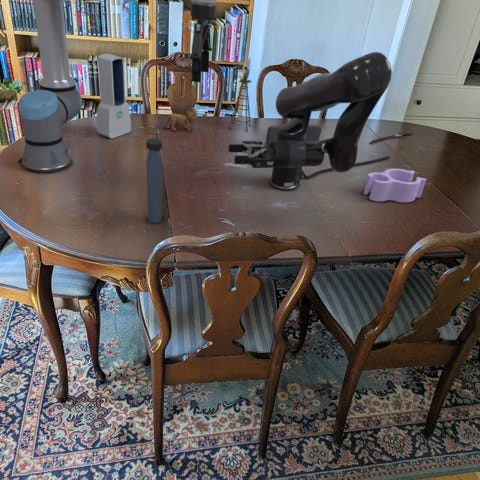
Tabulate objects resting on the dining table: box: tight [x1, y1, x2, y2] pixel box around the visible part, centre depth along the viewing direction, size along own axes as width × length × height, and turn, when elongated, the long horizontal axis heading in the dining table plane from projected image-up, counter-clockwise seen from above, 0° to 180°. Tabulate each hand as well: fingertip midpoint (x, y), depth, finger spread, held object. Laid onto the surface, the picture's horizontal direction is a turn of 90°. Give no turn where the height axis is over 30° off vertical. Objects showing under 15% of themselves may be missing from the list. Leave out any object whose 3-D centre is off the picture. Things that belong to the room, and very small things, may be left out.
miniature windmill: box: [228, 58, 252, 132], centre depth 200 cm, size 9×8×30 cm
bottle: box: [146, 149, 163, 224], centre depth 129 cm, size 4×4×24 cm
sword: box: [370, 132, 414, 145], centre depth 214 cm, size 31×3×1 cm, turn 126°
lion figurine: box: [162, 107, 198, 132], centre depth 197 cm, size 15×5×9 cm, turn 110°
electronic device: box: [95, 53, 132, 139], centre depth 180 cm, size 12×8×30 cm, turn 148°
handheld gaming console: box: [264, 124, 322, 146], centre depth 189 cm, size 23×3×10 cm, turn 108°
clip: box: [362, 168, 427, 203], centre depth 162 cm, size 20×12×7 cm, turn 109°
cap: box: [145, 138, 163, 151], centre depth 123 cm, size 4×4×2 cm
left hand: (200, 76), depth 151 cm, fingers open, 13 cm apart
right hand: (231, 153), depth 129 cm, fingers open, 8 cm apart
